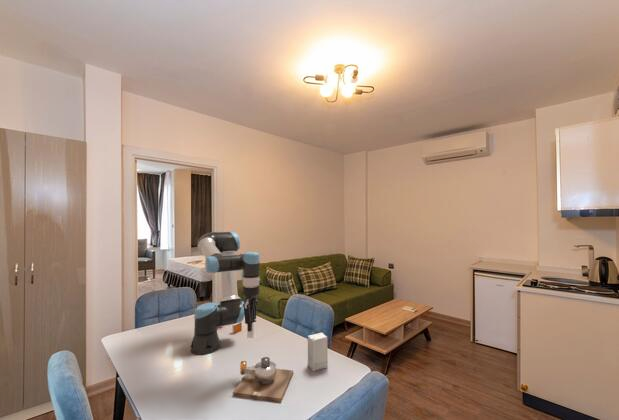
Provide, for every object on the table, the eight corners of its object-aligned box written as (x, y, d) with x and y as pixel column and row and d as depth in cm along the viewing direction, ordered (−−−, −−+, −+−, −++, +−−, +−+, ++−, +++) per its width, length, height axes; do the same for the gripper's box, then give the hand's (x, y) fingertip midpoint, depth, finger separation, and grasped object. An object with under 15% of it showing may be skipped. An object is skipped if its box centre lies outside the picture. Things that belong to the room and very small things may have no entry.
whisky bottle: (245, 329, 177) (213, 323, 192) (245, 319, 178) (212, 314, 192) (234, 334, 168) (201, 328, 183) (234, 324, 169) (200, 319, 183)
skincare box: (322, 362, 137) (322, 331, 137) (328, 368, 131) (328, 336, 132) (306, 365, 133) (307, 334, 133) (312, 372, 128) (312, 339, 128)
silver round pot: (278, 371, 122) (278, 355, 122) (272, 383, 113) (272, 365, 113) (244, 367, 125) (245, 351, 125) (236, 378, 116) (236, 361, 116)
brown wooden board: (231, 396, 110) (232, 388, 110) (251, 369, 130) (251, 362, 130) (280, 402, 106) (281, 394, 106) (293, 373, 126) (293, 366, 126)
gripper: (253, 289, 121) (252, 344, 120) (263, 283, 134) (263, 332, 133) (237, 288, 122) (236, 342, 121) (249, 282, 135) (248, 331, 134)
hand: (250, 337), depth 127 cm, fingers closed
